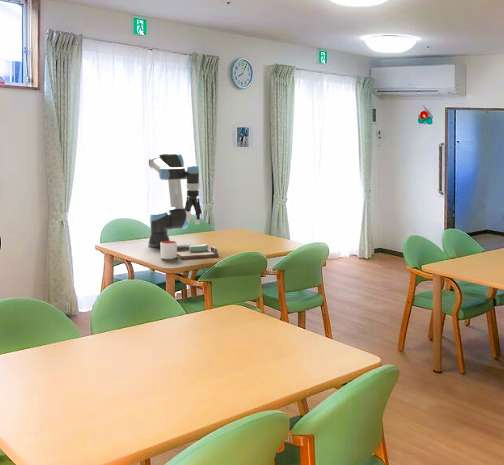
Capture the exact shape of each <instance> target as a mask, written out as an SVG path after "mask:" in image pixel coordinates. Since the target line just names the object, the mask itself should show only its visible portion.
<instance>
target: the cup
mask: <svg viewBox="0 0 504 465" xmlns="http://www.w3.org/2000/svg"><path fill="white" fill-rule="evenodd" d="M177 246H178V243H177V241H175V240H170V241H163V242H160V247H159V248H160V259H163V260H174V259H176V258H178V257H177V252H178V247H177Z"/></svg>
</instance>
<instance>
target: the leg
mask: <svg viewBox="0 0 504 465" xmlns="http://www.w3.org/2000/svg"><path fill="white" fill-rule="evenodd" d="M188 248H189V249H188V251H204V250H208V249H209V244H208V243H207V244H206V243H205V244H197V245H188Z"/></svg>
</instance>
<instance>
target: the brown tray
mask: <svg viewBox="0 0 504 465" xmlns="http://www.w3.org/2000/svg"><path fill="white" fill-rule="evenodd" d="M218 257H219V253H218V248H217V247H216V246H214V245H213V246H210V249H209V248H208V250H204V251H189V250H188V251H177V257H176V258H179V259H180V260H192V259H194V260H195V259H204V258H205V259H207V258H218Z"/></svg>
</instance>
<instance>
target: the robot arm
mask: <svg viewBox="0 0 504 465" xmlns="http://www.w3.org/2000/svg"><path fill="white" fill-rule="evenodd" d="M184 164H185V162H184V158H183V156H182V154H181V153H179V152H157V153H155V154H153V155H151V156H150V158H149V160H148V165H149V168H150V169H151V170H153V171H155V172H157V173H158V176H159V179H160V180H161V181H167V183H168V192H169V193H168V194H169V200H170V209H169V210H168V211H167V210H159V211H155V212H152V213H151V214H150V217H149V221H150V222H149V223H150V236H149V238H148V242H147V243H148V247H150V248H160V242H163V241H171V240H170V237H169V234H168V233H169V232H168V231H171V230H183V229H184V230H185V229H187V228H188V227H189V225H190V222H191V221H192V212H191V211H192V207H193V208H194V211H195V214H194V215H195V226H196V225H201V217H200V216H201V215H202V208H201V207H202V206H201V203H200V198H199V196H200V191H199V189H200V182H199V181H200V180H199V178H200V175H199V174H200V170H199V166H198V165H196V164H195V165H193V164H190V165H187V166H185V165H184ZM181 180H186V189H187V190H186V195H187V196H186V199H185V200H186V201H185V206H184V200H183V193H182V192H183V191H182V182H181ZM197 197H198V198H197Z"/></svg>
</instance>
